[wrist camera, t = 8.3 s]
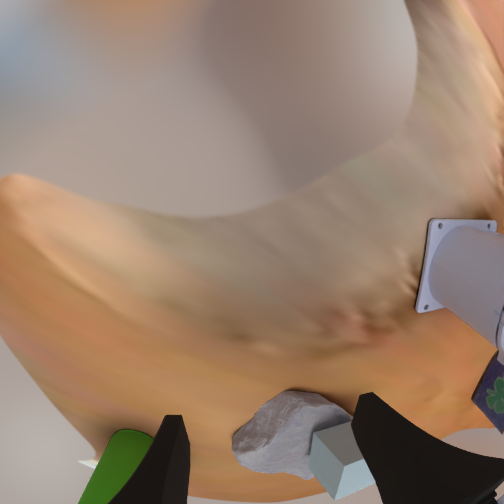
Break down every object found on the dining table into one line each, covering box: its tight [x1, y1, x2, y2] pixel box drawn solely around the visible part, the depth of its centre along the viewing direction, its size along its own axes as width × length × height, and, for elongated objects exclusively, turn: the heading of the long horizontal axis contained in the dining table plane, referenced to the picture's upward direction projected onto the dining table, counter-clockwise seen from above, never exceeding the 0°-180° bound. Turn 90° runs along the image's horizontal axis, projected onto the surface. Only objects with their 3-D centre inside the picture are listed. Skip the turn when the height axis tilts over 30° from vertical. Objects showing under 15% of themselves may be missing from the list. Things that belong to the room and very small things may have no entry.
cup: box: [78, 430, 154, 504], centre depth 18 cm, size 9×9×11 cm
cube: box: [308, 421, 376, 500], centre depth 19 cm, size 4×4×5 cm
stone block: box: [232, 391, 353, 480], centre depth 24 cm, size 12×5×10 cm
